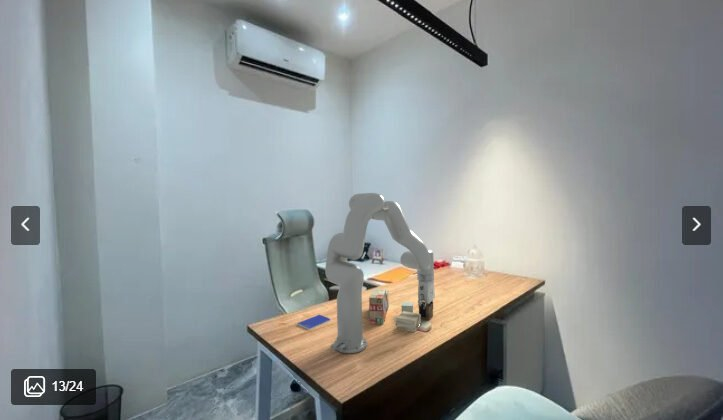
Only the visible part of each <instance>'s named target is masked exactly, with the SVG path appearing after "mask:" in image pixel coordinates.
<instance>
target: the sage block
mask: <svg viewBox="0 0 723 420" xmlns="http://www.w3.org/2000/svg"><path fill="white" fill-rule="evenodd" d="M403 311H405V312H411V313H414V302H411V301H402V302H401V313H402V312H403Z"/></svg>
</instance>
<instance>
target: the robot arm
mask: <svg viewBox="0 0 723 420" xmlns="http://www.w3.org/2000/svg"><path fill="white" fill-rule="evenodd" d="M348 207H349V209H350V210H349V212H348V213H347V215H346V217H345V218H346V219H345V222H344V227H343V231H342V232H339V233H335V234H334V235H333V236H332V237H331V239H330V241H329V243H328V247H327V254H326V261H325V267H324V268H325V269H324V272H325V277H326V279H327V280H328V281H329V282H331V283H332V284H334V285H337V286H338V288H339V289H338V293H337V296H336V317H337V318H336V320H337V321H336V322H337V323H336V325H337V336H336V339H335V340H334V341H333V344H332V345H330V350H332V351H337V352H339V353H342V354H356V353H359V352H362V351H364V350H365V349H366V347H367V346H368V341H367V339H366V338H365V337H364V336H363V333H364V332H363V299H362V298H363V286H364V280H365V278H364V277H365V275H364V271H363V270H362V268H361V267H360V266H359V265H357V264H355V263H352V262H349V261H348V260H352V261H353V260H359V259H360V258H361V257H362V256H363V253H364V248H365V244H366V243H365V240H366V234H367V229H368V224H369V222H370V221H371V220H375V221H383V222H384V224H385V226H386V227H387V230H388V233H389V234H390V237H391V238H392V240H394V241H395V242H396V243H398V244H399V245H401V246H403V247H404V248H406V249H407V250H408V251H404V252H403V253H402V254H401V255H400V263H401V265H402V266H404V267H405V268H408V269H413V270H416V271H417V272H416V274H417V275H416V278H417V282H418V285H417V286H418V288H417V299H418V300H417V306H418V314H421V317H426V308H425V307H426V303H427V304H429V303H430V304H433V305H434V299H435V298H436V297H435V295H436V294H435V271H434V270H435V267H434V266H435V264H434V261H435V259H434V251H433V250H431V249H428V248H427V246H426V244H425V243H424V242H423V241H422V239H420V238H419V236H417V234H415V233H414V232H413V231H412V230H411V229H410V226H409V224H408V222H407V220H406V217H405V215H404V212H403V211H402V208H401V206H400V204H398V203H397V202H396V201H393V200H385V197H384V196H383V195H381V194H380V193H376V192H366V193H356V194H353V195H352V196H351V197H350V199H349V201H348ZM422 303H423V304H424V306H423V304H422Z"/></svg>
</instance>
